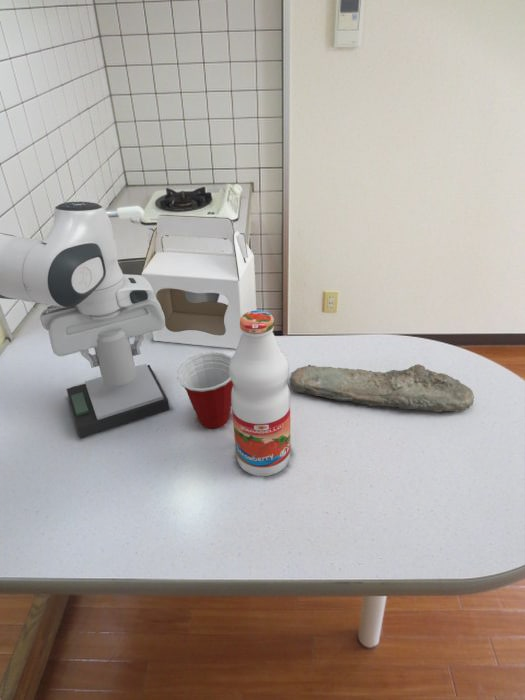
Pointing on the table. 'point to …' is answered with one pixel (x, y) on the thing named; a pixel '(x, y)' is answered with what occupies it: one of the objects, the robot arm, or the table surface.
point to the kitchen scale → (116, 402)
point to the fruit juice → (260, 397)
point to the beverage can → (115, 358)
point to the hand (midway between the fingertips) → (115, 359)
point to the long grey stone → (385, 387)
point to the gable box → (200, 281)
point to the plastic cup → (208, 387)
